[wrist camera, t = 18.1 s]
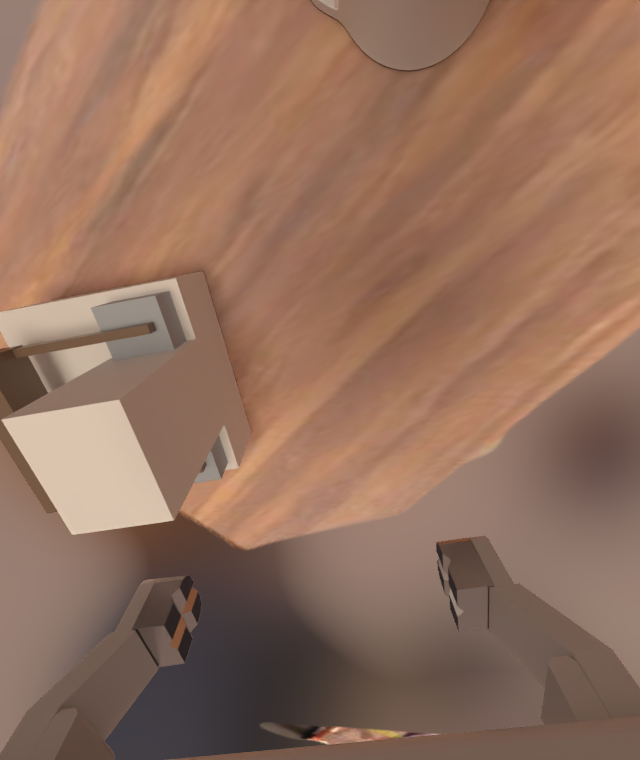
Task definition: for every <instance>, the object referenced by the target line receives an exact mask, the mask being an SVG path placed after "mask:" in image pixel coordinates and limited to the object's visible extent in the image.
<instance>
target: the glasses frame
mask: <svg viewBox="0 0 640 760" xmlns="http://www.w3.org/2000/svg"><path fill="white" fill-rule="evenodd" d="M155 331H157V330H156V327H155V325H154V322H150V323H144V324H139V325H134V326H128V327H123V328H117V329H112V330H107V331H101V332H96V333H90V334H85V335H80V336H74V337H69V338H63V339H58V340H52V341H47V342H42V343H36V344H31V345H25V346H22V345H19V346H14V347H8V348H3V349H0V440H1V441H2V443H3V444H4V446H5V448H6V449H7V451H8V452H9V454H10V455H11V457H12V459H13V460H14V462H15V463H16V465H17V467H18V468H19V470H20V471H21V473H22V474H23V476H24V477H25V479H26V481H27V482H28V484H29V485H30V487H31V489H32V490H33V492H34V493H35V495H36V497H37V498H38V500H39V501H40V503H41V504H42V506H43V508H44V509H45V510H46V512H47V513H52V512H58V511H57V509H56V508H55V506H54V505H53V503H52V501H51V500H50V498H49V496H48V495H47V493H46V492H45V490H44V488H43V487H42V485H41V483H40V482H39V480H38V479H37V477H36V475H35V474H34V472H33V471H32V469H31V467H30V466H29V464H28V462H27V461H26V459H25V458H24V456H23V454H22V453H21V451H20V449H19V448H18V446H17V445H16V443H15V441H14V440H13V438H12V436H11V435H10V433H9V432H8V430H7V428H6V427H5V425H4V423H3V422H2V420H1V419H3V418H5V417H7V416H8V415H10V414H12V413H14V412H16V411H17V410H19V409H21V408H23V407H25V406H26V405H28V404H30V403H32V402H34V401H35V400H37V399H39V398H41V397H42V396H44V395H46V394H48V392H47V390H46V388H45V386H44V385H43V383H42V381H41V379H40V377H39V375H38V373H37V372H36V370H35V368H34V366H33V364H32V362H31V360H30V359H29V357H28V356H32V355H37V354H42V353H48V352H53V351H59V350H64V349H70V348H75V347H81V346H86V345H92V344H97V343H103V342H108V341H114V340H119V339H125V338H130V337H136V336H141V335H147V334H151V333H153V332H155ZM206 466H207V464H206V462H204V464H203V466H202V468H201V470H200V472H199V473H202V472H204V470H205V468H206Z"/></svg>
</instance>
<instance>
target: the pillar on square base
mask: <svg viewBox="0 0 640 760" xmlns="http://www.w3.org/2000/svg"><path fill="white" fill-rule="evenodd" d="M150 322H154V325H155V327H156V330H157V331H155V332H153V333H151V334H147V335H141V336H136V337H130V338H125V339H119V340H114V341H108V342H103V343H97V344H92V345H86V346H81V347H75V348H70V349H64V350H59V351H53V352H48V353H42V354H37V355H32V356H28V357H29V359H30V360H31V362H32V364H33V366H34V368H35V370H36V372H37V373H38V375H39V377H40V379H41V381H42V383H43V385H44V386H45V388H46V390H47V392H48V394H46V395H44V396H42V397H41V398H39V399H37V400H35V401H34V402H32V403H30V404H28V405H26V406H25V407H23V408H21V409H19V410H17V411H16V412H14V413H12V414H10V415H8V416H7V417H5V418H3V419H1V420H2V422H3V423H4V425H5V427H6V428H7V430H8V432H9V433H10V435H11V436H12V438H13V440H14V441H15V443H16V445H17V446H18V448H19V449H20V451H21V453H22V454H23V456H24V458H25V459H26V461H27V462H28V464H29V466H30V467H31V469H32V471H33V472H34V474H35V475H36V477H37V479H38V480H39V482H40V483H41V485H42V487H43V488H44V490H45V492H46V493H47V495H48V496H49V498H50V500H51V501H52V503H53V505H54V506H55V508H56V509H57V511H58V512H59V514H60V516H61V518H62V519H63V521H64V522H65V524H66V525H67V527H68V529H69V531H70V532H71V534H72V535H75V534H82V533H89V532H96V531H103V530H110V529H117V528H124V527H131V526H139V525H146V524H152V523H160V522H167V521H174V519H175V517H176V515H177V514H178V512H179V510H180V508H181V506H182V504H183V502H184V500H185V498H186V496H187V494H188V493H189V491H190V489H191V487H192V485H193V483H198V482H204V481H211V480H218V479H221V478H222V476H223V473H224V471H225V470H229V469H235V468H239V466H240V463H241V460H242V457H243V455H244V452H245V449H246V446H247V443H248V441H249V438H250V435H251V429H250V426H249V423H248V419H247V416H246V413H245V409H244V406H243V403H242V399H241V396H240V393H239V389H238V386H237V383H236V379H235V376H234V372H233V369H232V366H231V362H230V359H229V356H228V352H227V349H226V346H225V342H224V339H223V336H222V332H221V329H220V326H219V322H218V319H217V316H216V312H215V309H214V306H213V302H212V299H211V296H210V292H209V289H208V286H207V282H206V279H205V275H204V272H203V271H201V272H196V273H191V274H186V275H181V276H175V277H170V278H165V279H160V280H155V281H150V282H144V283H139V284H134V285H129V286H124V287H119V288H114V289H108V290H103V291H98V292H93V293H88V294H83V295H77V296H72V297H67V298H62V299H57V300H52V301H47V302H43V303H38V304H34V305H29V306H25V307H20V308H15V309H11V310H6V311H2V312H0V332H1V334H2V335H3V337H4V339H5V341H6V343H7V344H8V346H9V347H14V346H19V345H22V346H25V345H31V344H36V343H42V342H47V341H52V340H58V339H63V338H69V337H74V336H80V335H85V334H90V333H96V332H101V331H107V330H112V329H117V328H123V327H128V326H134V325H139V324H144V323H150ZM204 462H206V464H207V466H206V468H205V470H204V472H202V473H199V472H200V470H201V468H202V466H203V464H204Z"/></svg>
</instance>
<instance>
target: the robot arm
mask: <svg viewBox="0 0 640 760" xmlns="http://www.w3.org/2000/svg"><path fill="white" fill-rule="evenodd" d="M311 1H312V2H313V4H314V5H315V6H316V7H317V8H318V9H320V10H321V11H323V12H324V13H326V14H328V15H329V16H331V17H333V18H335V19H337V20H338V21H339V22H340V23H341V24H342V25H343V26H344V27H345V29H346V30H347V31H348V33H349V34H350V36H351V37H352V39H353V40H354V41H355V43H356V44H357V45H358V46H359V47H360V48H361V50H362V51H363V52H365V53H366V54H367V55H368V56H369V57H371V58H372V59H373V60H375V61H376V62H378V63H380V64H382V65H384V66H387V67H390V68H393V69H398V70H417V69H422V68H426V67H429V66H432V65H434V64H436V63H438V62H440V61H442V60H444V59H445V58H447V57H448V56H450V55H451V54H452V53H453V52H455V51H456V50H457V49H458V48H459V47H460V46H461V45H462V44H463V43H464V42H465V41H466V40H467V38H468V37H469V36H470V35H471V33H472V32H473V31H474V29H475V28H476V26H477V25H478V23H479V21H480V20H481V18H482V16H483V14H484V12H485V10H486V8H487V6H488V4H489V1H490V0H311ZM436 550H437V553H438V556H439V559H438V561H437V564H438V571H439V576H440V580H441V584H442V586H443V590H444V593H445V595H447V596H448V597H449V598H450V610H451V612H452V615H453V618H454V621H455V623H456V626H457V629H458V631H459V632H468V631H479V630H489V632H490V633H491V634H492V635H493V636H494V637H495V638H496V639H497V640H498V641H499V642H500V643H501V644H502V645H503V646H504V647H505V648H506V649H507V650H508V651H509V652H510V654H512V656H514V658H515V659H516V660H517V661H519V662H520V664H521V665H522V666H523V667H524V668H525V669H526V670H528V672H529V673H530V674H531V675H532V676H534V678H535V679H536V680H537V681H538V682H539V683H541V685H542V686H543V687H544V688H545V691H544V699H543V706H542V714H541V719H542V721H543V723H544V725H538V726H526V727H516V728H506V729H495V730H484V731H474V732H463V733H451V734H440V735H429V736H419V737H408V738H397V739H386V740H375V741H365V742H354V743H343V744H332V745H321V746H310V747H300V748H289V749H278V750H268V751H256V752H247V753H235V754H224V755H213V756H203V757H192V758H181V759H170V760H640V688H639V686H638V685H637V683H636V682H635V681H634V679H633V678H632V676H631V675H630V674H629V672H628V671H627V669H626V668H625V667H624V665H623V664H622V662H621V661H620V660H619V658H618V657H617V655H616V654H615V653H614V651H613V650H612V649H611V648H609V647H608V646H607V645H605V644H604V643H602V642H601V641H600V640H598V639H597V638H595V637H594V636H593V635H591V634H590V633H588V632H587V631H586V630H584V629H582V628H581V627H580V626H578V625H577V624H575V623H574V622H573V621H571V620H570V619H569V618H567V617H566V616H564V615H563V614H562V613H560V612H559V611H557V610H556V609H555V608H553V607H552V606H550V605H549V604H547V603H546V602H545V601H543V600H542V599H540V598H539V597H538V596H536V595H535V594H533V593H532V592H531V591H529V590H528V589H526V588H525V587H523V586H522V585H521V584H514V583H513V581H512V579H511V578H510V576H509V574H508V572H507V571H506V569H505V567H504V566H503V564H502V562H501V560H500V558H499V557H498V555H497V553H496V552H495V550H494V548H493V546H492V544H491V543H490V541H489V539H488V538H487V537H486V536H479V537H472V538H462V539H456V540H448V541H441V542H437V543H436ZM193 583H194V582H193V580H192V578H191V577H190V576H180V577H171V578H160V579H152V580H144V581H143V582H142V583H141V584H140V585H139V587H138V589H137V591H136V593H135V595H134V597H133V598H132V600H131V602H130V604H129V606H128V608H127V610H126V612H125V614H124V616H123V617H122V619H121V621H120V623H119V625H118V627H117V629H116V630H115V632H114V633H110V634H109V635H108V636H106V638H104V639H103V640H102V641H101V642H100V643H99V644H98V645H97V646H96V647H95V648H94V649H93V650H92V651H91V652H89V653H88V654H87V655H86V656H85V657H84V658H83V659H82V660H81V661H80V662H79V663H78V664H77V665H76V666H75V667H73V668H72V669H71V670H70V671H69V672H68V673H67V674H66V675H65V676H64V677H63V678H62V679H61V680H60V681H59V682H57V683H56V684H55V685H54V686H53V687H52V688H51V689H50V690H49V691H48V692H47V693H46V694H45V695H44V696H43V697H41V698H40V699H39V700H38V701H37V702H36V703H35V704H34V705H33V706H32V707H31V708H30V709H29V710H28V711H27V712H26V714H25V715H24V717H23V718H22V720H21V722H20V723H19V725H18V726H17V728H16V729H15V731H14V733H13V734H12V736H11V737H10V739H9V741H8V742H7V744H6V745H5V747H4V749H3V750H2V752H1V753H0V760H115V757H114V753H113V751H112V750H111V749H110V748H109V747H108V746H107V744H106V743H105V742H104V741H105V739H106V738H107V737H108V736H109V734H110V733H111V732H112V730H113V729H114V728H115V726H116V725H117V724H118V722H119V721H120V720H121V718H122V717H123V716H124V714H125V713H126V712H127V710H128V709H129V708H130V706H131V705H132V704H133V702H134V701H135V700H136V698H137V697H138V696H139V694H140V693H141V692H142V690H143V689H144V687H145V686H146V685H147V684H148V682H149V681H150V680H151V678H152V677H153V676H154V674H155V673H156V672H157V670H158V667H162V666H169V665H176V664H183V663H185V661H186V658H187V655H188V652H189V649H190V646H191V643H192V640H193V639H192V636H191V631H192V630H193V628H194V627H195V626H196V625H197V624H198V621H199V618H200V613H201V598H200V595H199V593H198V591H196V590H195V589H193V588H192V586H193Z"/></svg>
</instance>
